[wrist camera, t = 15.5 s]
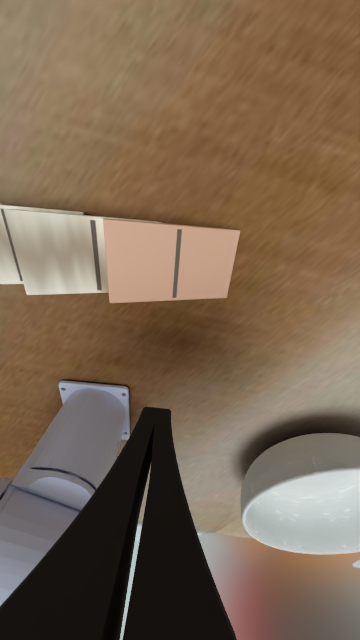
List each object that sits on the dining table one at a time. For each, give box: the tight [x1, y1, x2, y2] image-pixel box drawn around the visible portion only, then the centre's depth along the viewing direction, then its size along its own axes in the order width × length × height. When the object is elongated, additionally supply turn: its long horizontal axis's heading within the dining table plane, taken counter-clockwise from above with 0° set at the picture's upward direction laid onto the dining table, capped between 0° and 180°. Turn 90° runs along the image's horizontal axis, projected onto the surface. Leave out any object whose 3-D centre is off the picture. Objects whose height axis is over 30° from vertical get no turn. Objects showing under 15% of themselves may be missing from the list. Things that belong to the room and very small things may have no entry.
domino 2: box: [4, 209, 162, 295], centre depth 15 cm, size 5×2×9 cm
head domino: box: [103, 218, 240, 303], centre depth 15 cm, size 5×2×9 cm
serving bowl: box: [241, 433, 360, 554], centre depth 26 cm, size 21×21×7 cm
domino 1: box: [0, 205, 85, 284], centre depth 14 cm, size 5×2×9 cm
